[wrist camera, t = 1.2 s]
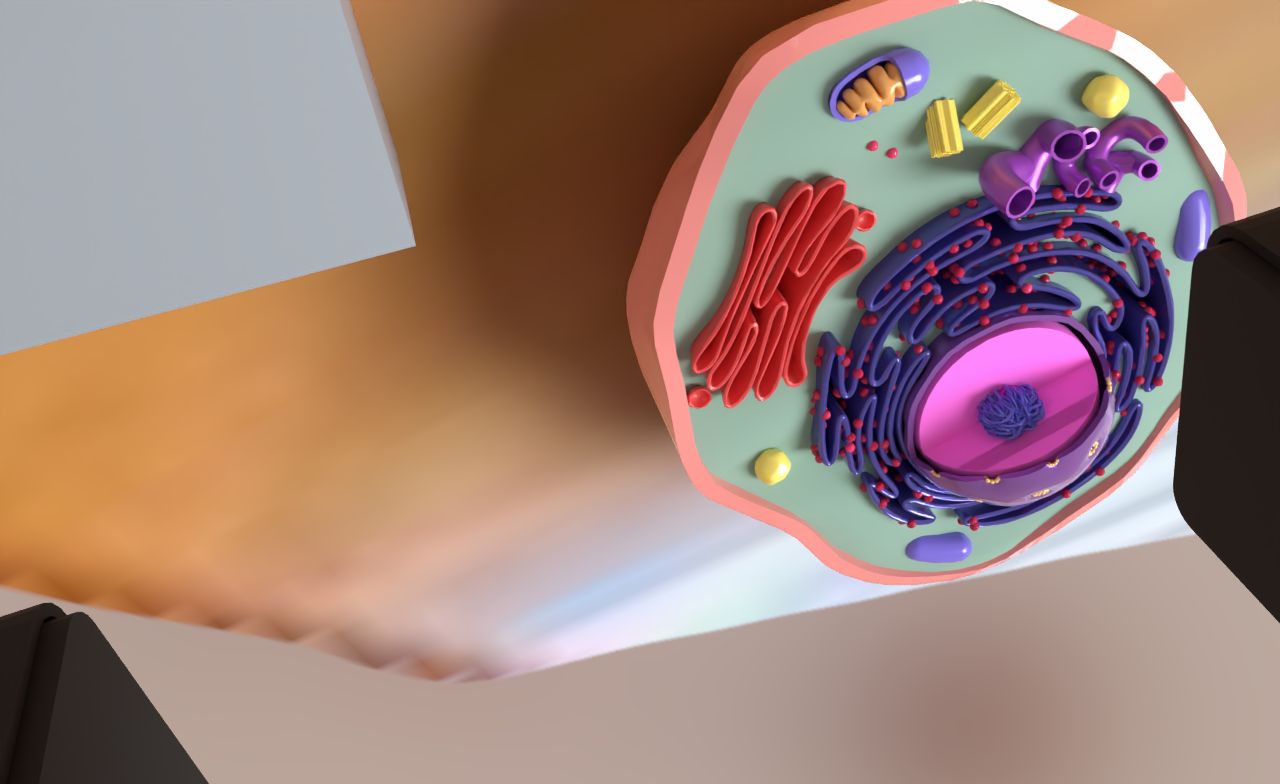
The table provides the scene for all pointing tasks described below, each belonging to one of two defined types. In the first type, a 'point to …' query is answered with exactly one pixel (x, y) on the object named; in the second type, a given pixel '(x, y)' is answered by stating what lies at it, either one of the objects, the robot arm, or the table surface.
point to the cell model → (928, 278)
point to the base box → (182, 156)
